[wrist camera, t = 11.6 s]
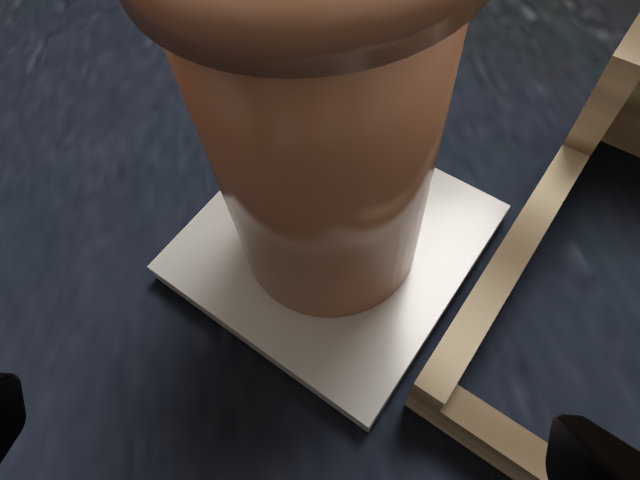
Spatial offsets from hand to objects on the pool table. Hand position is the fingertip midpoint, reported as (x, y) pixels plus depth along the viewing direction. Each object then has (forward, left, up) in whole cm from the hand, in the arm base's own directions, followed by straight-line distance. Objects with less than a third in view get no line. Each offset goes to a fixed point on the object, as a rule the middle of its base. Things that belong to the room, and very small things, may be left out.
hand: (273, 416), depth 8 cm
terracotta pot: (+3, +7, -8) cm, 11 cm away
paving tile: (+3, +7, -9) cm, 12 cm away
